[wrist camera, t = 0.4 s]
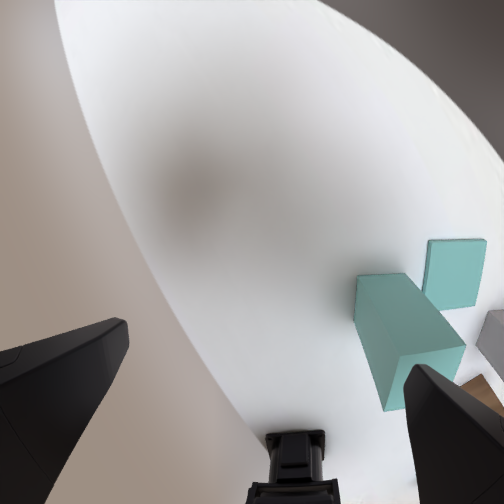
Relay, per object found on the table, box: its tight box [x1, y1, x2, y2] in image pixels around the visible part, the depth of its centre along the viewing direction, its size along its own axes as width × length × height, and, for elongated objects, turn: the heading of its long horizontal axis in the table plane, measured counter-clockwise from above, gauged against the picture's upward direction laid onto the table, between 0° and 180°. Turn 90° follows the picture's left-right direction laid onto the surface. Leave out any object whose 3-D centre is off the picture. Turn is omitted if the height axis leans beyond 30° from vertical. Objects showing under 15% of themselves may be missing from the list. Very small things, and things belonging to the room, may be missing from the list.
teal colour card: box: [422, 239, 487, 311], centre depth 20 cm, size 6×6×1 cm
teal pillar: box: [354, 273, 466, 412], centre depth 17 cm, size 4×4×10 cm
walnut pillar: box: [461, 374, 504, 417], centre depth 19 cm, size 4×4×10 cm
